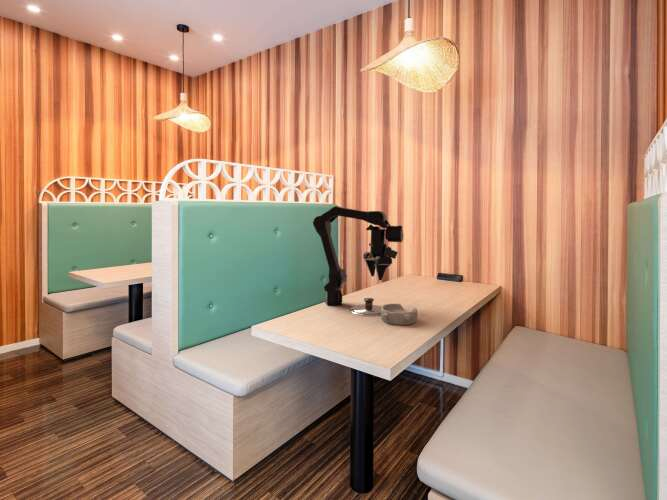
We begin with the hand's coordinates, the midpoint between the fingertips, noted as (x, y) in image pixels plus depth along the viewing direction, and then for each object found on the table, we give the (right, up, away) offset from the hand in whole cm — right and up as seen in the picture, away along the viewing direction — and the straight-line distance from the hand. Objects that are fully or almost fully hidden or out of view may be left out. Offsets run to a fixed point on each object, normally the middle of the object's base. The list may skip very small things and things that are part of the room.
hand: (376, 278), depth 158 cm
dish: (+6, -15, -17) cm, 23 cm away
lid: (-3, -14, -3) cm, 14 cm away
